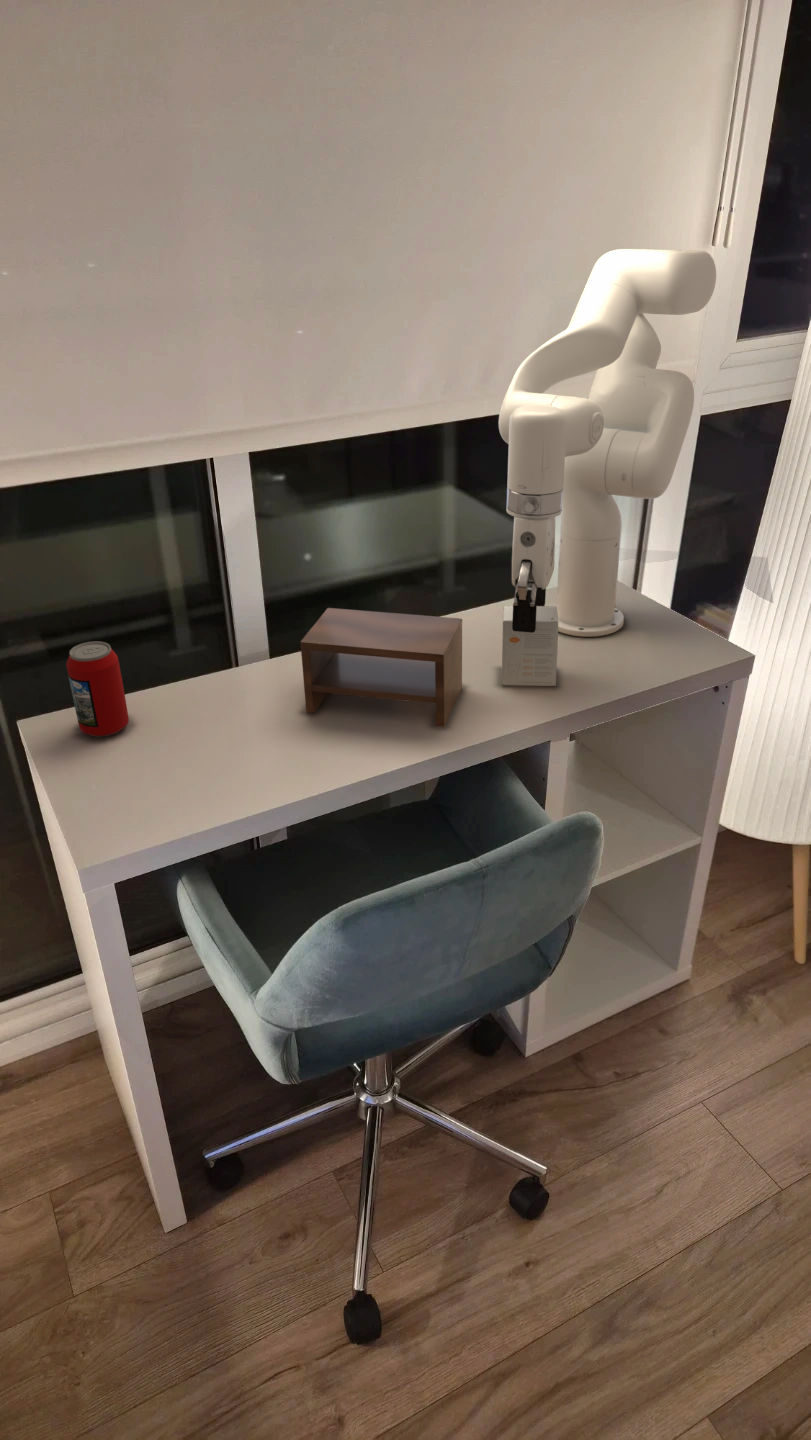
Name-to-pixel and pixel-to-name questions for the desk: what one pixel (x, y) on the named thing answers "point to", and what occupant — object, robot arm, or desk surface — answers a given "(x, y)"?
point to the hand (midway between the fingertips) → (529, 618)
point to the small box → (530, 650)
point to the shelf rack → (384, 658)
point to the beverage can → (97, 689)
